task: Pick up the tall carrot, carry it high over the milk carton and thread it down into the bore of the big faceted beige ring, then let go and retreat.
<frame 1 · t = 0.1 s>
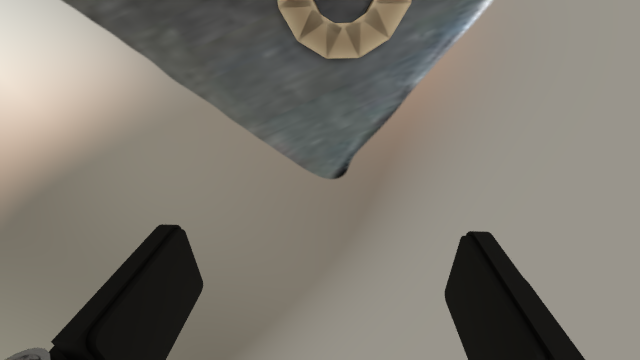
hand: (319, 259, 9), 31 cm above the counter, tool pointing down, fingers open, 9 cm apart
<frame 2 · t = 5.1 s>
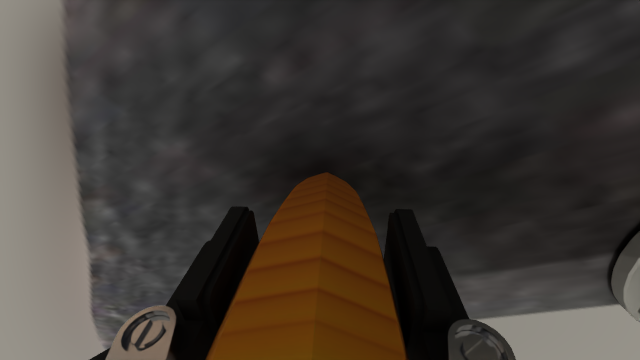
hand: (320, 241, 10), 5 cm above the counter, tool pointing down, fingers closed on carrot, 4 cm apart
carrot: (326, 176, 15), on the counter, touching gripper
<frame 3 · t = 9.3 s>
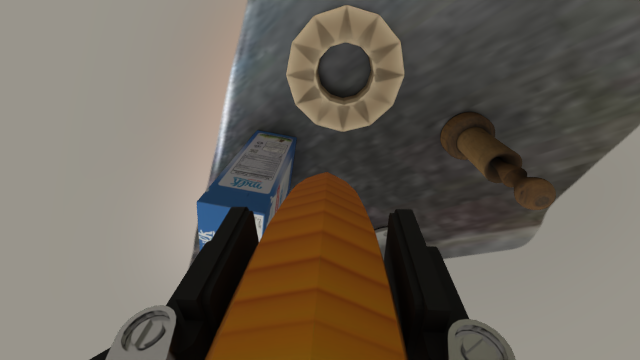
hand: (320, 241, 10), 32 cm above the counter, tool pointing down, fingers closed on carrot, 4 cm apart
carrot: (326, 176, 15), point 26 cm above the counter, touching gripper
faceted beige ring: (344, 70, 36), on the counter
milk carton: (274, 161, 44), on the counter
brown tall rounded piece: (463, 133, 40), on the counter
when the fingers open (6 cm above the counter, at t = 13.6 s): carrot drops 1 cm, on the counter.
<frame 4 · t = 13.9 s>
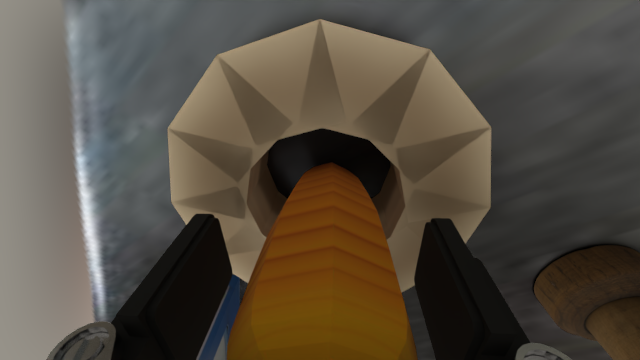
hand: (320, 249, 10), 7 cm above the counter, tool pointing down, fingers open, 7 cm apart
carrot: (329, 166, 16), on the counter
faceted beige ring: (327, 165, 16), on the counter
milk carton: (205, 306, 23), on the counter
brown tall rounded piece: (583, 276, 19), on the counter
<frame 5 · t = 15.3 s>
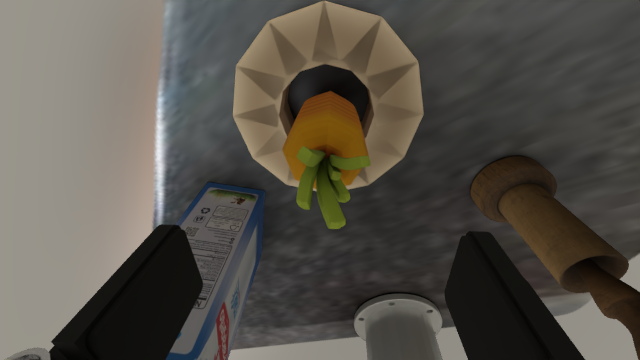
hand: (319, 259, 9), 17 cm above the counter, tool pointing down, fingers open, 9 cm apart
carrot: (329, 101, 24), on the counter
faceted beige ring: (327, 100, 24), on the counter
milk carton: (237, 219, 32), on the counter
brown tall rounded piece: (503, 183, 27), on the counter
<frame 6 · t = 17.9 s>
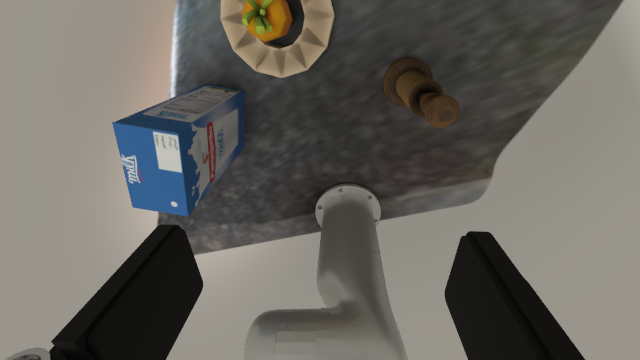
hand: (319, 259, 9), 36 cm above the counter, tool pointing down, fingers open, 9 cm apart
carrot: (283, 19, 37), on the counter
faceted beige ring: (282, 18, 37), on the counter
milk carton: (226, 117, 45), on the counter
brown tall rounded piece: (405, 81, 40), on the counter
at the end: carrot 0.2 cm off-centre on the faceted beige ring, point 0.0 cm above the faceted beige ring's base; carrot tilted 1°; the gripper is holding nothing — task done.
